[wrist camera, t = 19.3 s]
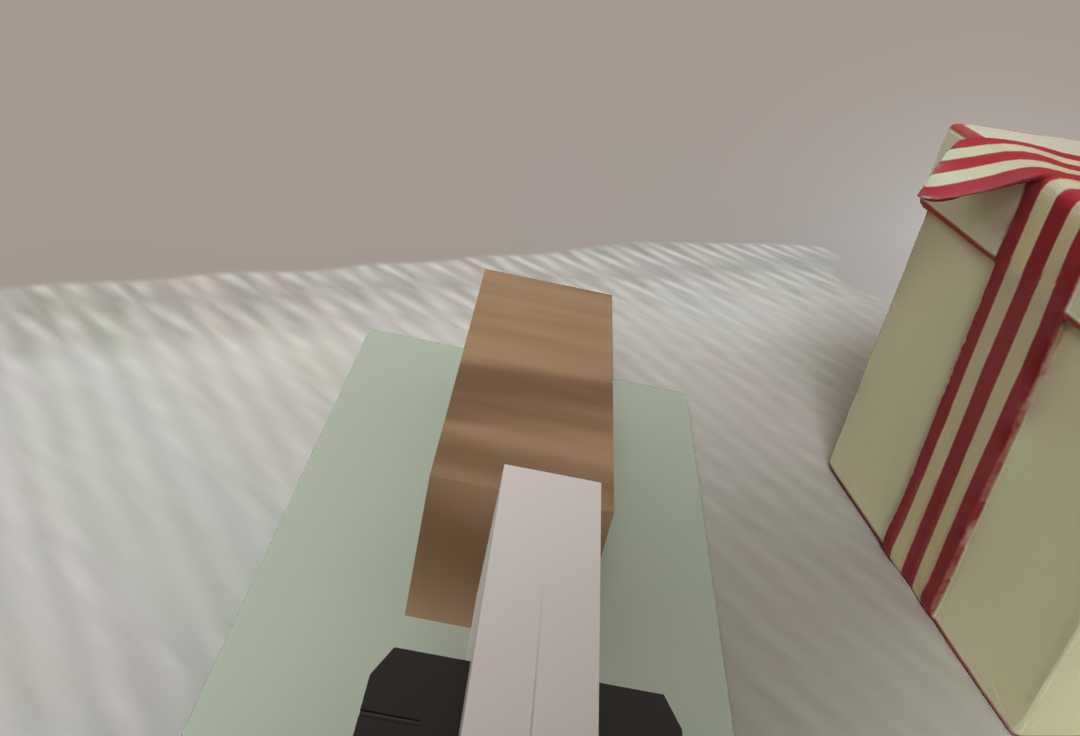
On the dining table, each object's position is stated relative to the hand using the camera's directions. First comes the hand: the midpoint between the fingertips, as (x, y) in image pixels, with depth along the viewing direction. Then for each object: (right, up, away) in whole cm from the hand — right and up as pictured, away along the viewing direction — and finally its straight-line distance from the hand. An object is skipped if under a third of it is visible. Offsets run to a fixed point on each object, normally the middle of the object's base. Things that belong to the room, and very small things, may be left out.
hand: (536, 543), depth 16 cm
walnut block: (-1, -3, +12) cm, 13 cm away
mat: (-1, -3, +18) cm, 18 cm away
